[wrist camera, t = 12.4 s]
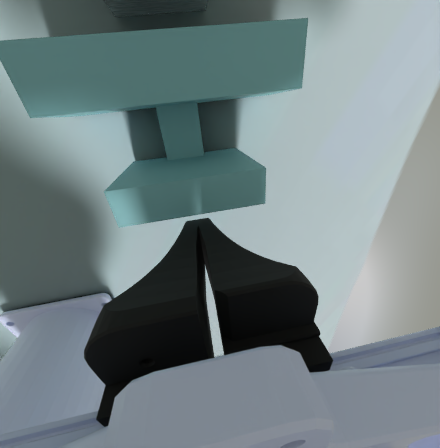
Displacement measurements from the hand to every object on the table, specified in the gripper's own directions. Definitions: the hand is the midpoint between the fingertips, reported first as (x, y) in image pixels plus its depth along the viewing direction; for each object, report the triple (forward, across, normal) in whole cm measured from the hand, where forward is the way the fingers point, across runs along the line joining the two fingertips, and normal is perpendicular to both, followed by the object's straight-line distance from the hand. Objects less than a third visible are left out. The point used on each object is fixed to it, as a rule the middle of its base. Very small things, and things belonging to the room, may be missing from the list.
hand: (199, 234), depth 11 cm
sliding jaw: (+3, 0, -5) cm, 6 cm away
